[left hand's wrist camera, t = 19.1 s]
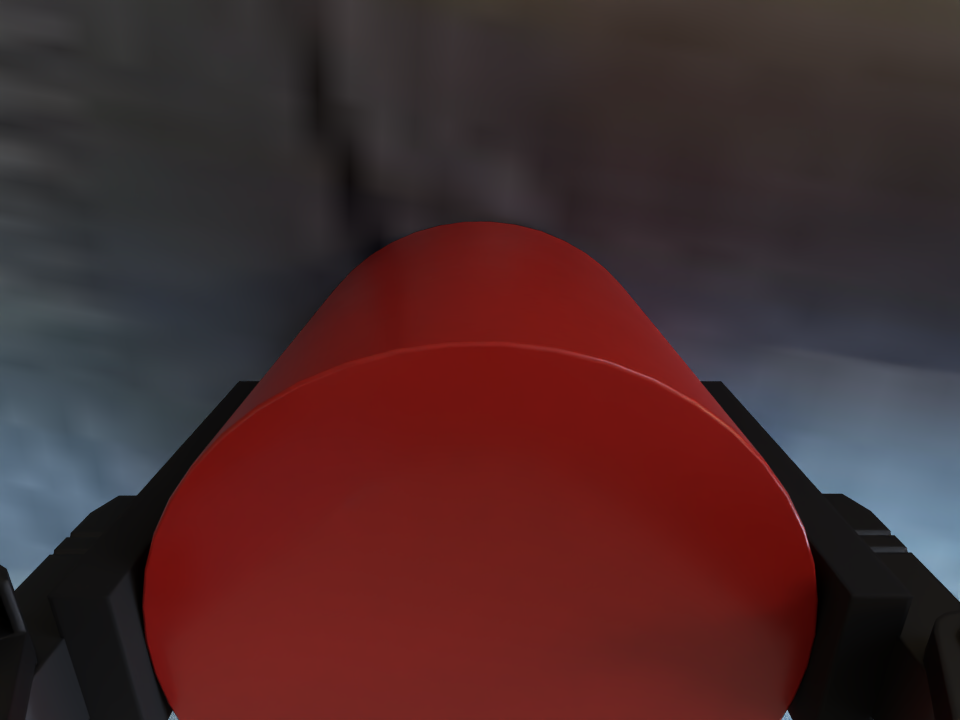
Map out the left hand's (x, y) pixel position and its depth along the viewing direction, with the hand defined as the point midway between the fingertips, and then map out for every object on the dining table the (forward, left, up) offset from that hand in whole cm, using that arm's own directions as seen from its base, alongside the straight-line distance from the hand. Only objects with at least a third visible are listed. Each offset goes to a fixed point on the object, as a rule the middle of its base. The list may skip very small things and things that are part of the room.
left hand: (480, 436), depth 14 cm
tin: (0, 0, -2) cm, 2 cm away
